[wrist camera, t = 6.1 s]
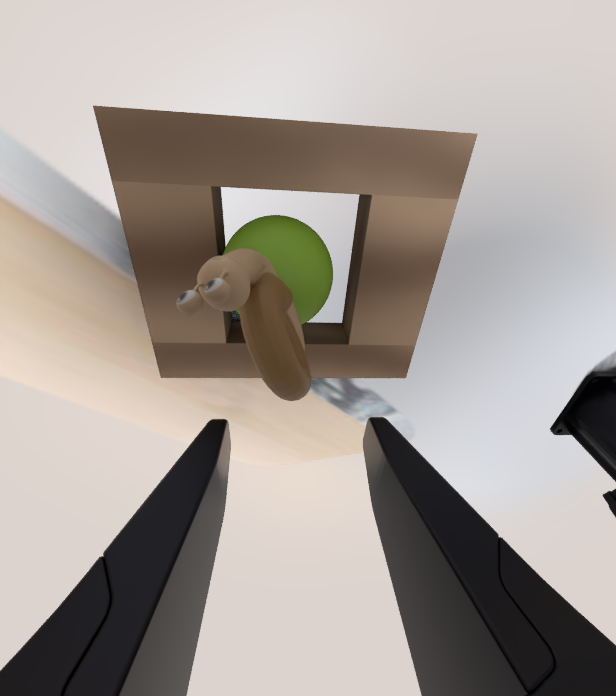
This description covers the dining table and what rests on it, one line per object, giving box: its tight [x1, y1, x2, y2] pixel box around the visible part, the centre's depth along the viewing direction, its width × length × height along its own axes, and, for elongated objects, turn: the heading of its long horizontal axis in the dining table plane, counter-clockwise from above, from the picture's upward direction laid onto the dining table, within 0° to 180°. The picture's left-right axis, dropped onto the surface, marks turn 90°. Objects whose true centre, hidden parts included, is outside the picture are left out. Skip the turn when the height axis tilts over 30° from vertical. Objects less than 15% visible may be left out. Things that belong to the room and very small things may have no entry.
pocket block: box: [93, 106, 477, 378], centre depth 17 cm, size 13×15×2 cm
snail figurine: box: [176, 215, 333, 401], centre depth 13 cm, size 5×6×12 cm
